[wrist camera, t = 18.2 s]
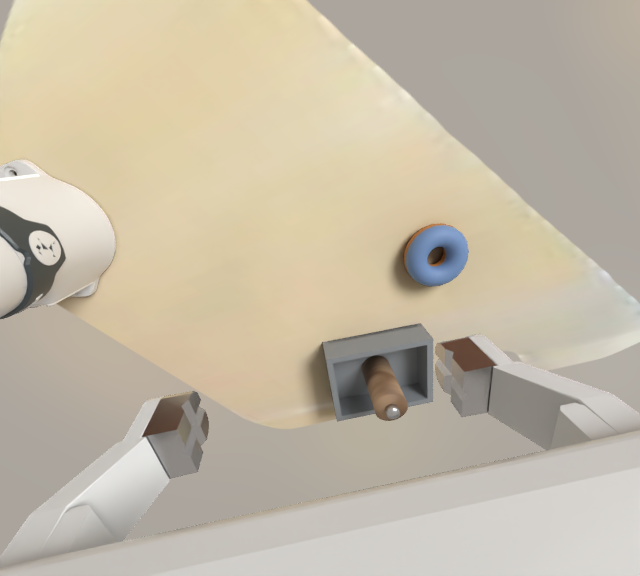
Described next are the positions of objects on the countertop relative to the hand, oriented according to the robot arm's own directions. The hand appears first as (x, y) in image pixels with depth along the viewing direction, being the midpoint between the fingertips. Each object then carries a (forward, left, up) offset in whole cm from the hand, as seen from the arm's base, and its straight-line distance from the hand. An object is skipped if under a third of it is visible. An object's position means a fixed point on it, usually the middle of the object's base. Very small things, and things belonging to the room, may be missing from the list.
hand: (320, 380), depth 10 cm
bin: (+10, -31, -37) cm, 49 cm away
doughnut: (+21, -11, -38) cm, 44 cm away
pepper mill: (+10, -31, -36) cm, 49 cm away
